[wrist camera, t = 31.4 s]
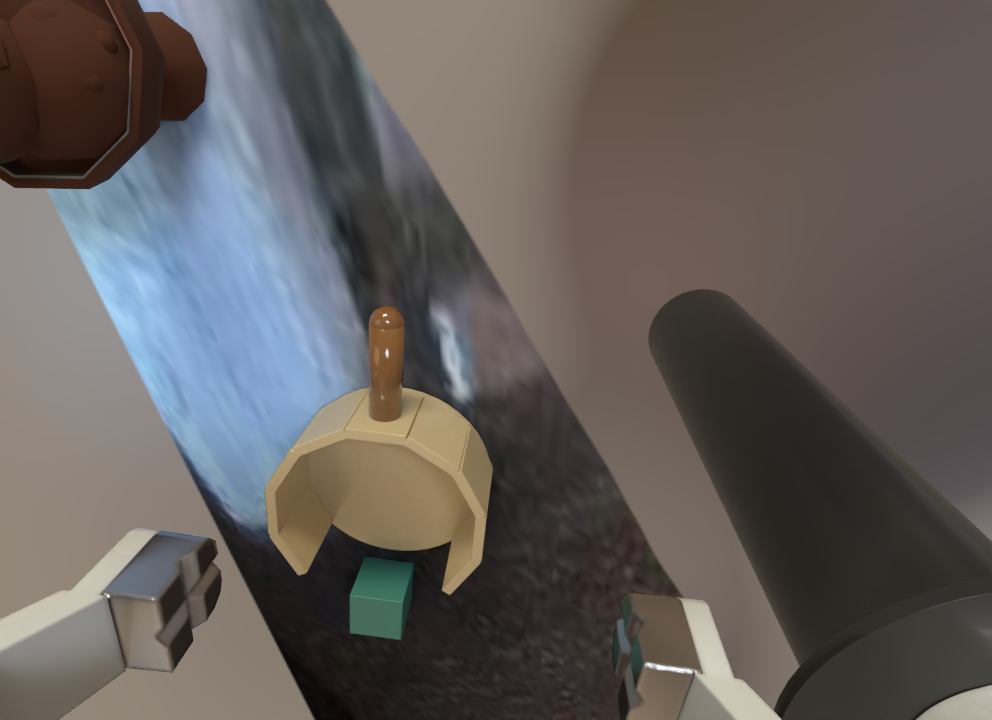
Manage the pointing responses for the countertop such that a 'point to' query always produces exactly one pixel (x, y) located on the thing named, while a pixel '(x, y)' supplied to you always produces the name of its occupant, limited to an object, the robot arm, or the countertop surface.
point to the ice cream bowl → (88, 87)
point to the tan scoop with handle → (384, 470)
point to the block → (381, 598)
